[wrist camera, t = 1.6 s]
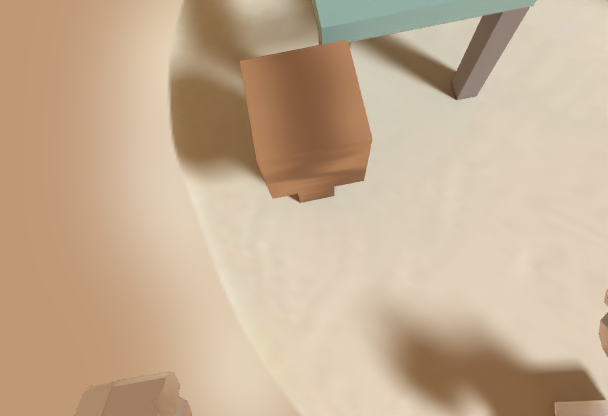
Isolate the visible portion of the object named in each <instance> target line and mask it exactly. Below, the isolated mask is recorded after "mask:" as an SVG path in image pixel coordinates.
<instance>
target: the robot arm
mask: <svg viewBox="0 0 608 416" xmlns="http://www.w3.org/2000/svg"><path fill="white" fill-rule="evenodd" d="M604 303H605V304H606V305H607V306H608V290H607V291H606V295H605V300H604ZM599 336H600V340H601V344H602V347H603V350H604V351H605V353H606V355H607V357H608V313H607V314H606V315H605V316H604V317H603V318H602V319H601V321H600V329H599ZM179 389H180V384H179V381H178V379H177V378H176V375H175V373H173V372H165V373H159V374H154V375H148V376H142V377H137V378H130V379H124V380H119V381H116V382H110V383H104V384H97V385H91V386H90V387H89V388H88V389H87V390H86V391H85V392H84V394H83V395H82V398H81V401H80V403H79V406H78V408H77V411H76V413H75V416H192V413H191V409H190V406H189V404H188V402H187V401H186V400H185V399H183V398H181V397H179V396H178V395H179Z"/></svg>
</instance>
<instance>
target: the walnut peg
mask: <svg viewBox="0 0 608 416" xmlns="http://www.w3.org/2000/svg"><path fill="white" fill-rule="evenodd" d="M240 67H241V73H242V79H243V85H244V90H245V96H246V102H247V108H248V114H249V120H250V125H251V131H252V137H253V143H254V149H255V154H256V160H257V164H258V166H259V168H260V171H261V173H262V175H263V178H264V180H265V182H266V185H267V187H268V189H269V192H270V194H271V196H272V198H278V197H283V196H288V195H294V194H298V197H299V201H300V203H301V202H306V201H311V200H316V199H321V198H326V197H331V196H334V186H339V185H344V184H349V183H354V182H359V181H364V177H365V172H366V168H367V163H368V158H369V153H370V148H371V143H372V136H371V132H370V128H369V124H368V120H367V116H366V112H365V108H364V104H363V100H362V96H361V92H360V88H359V84H358V80H357V76H356V72H355V67H354V63H353V59H352V55H351V51H350V47H349V43H348V39H347V40H342V41H337V42H332V43H327V44H322V45H317V46H312V47H307V48H302V49H297V50H292V51H287V52H282V53H277V54H272V55H267V56H262V57H257V58H252V59H247V60H242V61H240Z"/></svg>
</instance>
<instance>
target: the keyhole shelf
mask: <svg viewBox="0 0 608 416" xmlns="http://www.w3.org/2000/svg"><path fill="white" fill-rule="evenodd" d="M311 1H312V5H313V9H314V14H315V18H316V22H317V27H318V31H319V45H322V44H327V43H332V42H337V41H342V40H347V39H348V43H349V47H350V42H353V41H359V40H364V39H369V38H374V37H379V36H384V35H389V34H394V33H399V32H404V31H409V30H414V29H419V28H424V27H429V26H434V25H439V24H444V23H449V22H454V21H459V20H464V19H469V18H474V17H479V16H482V18H481V20H480V23H479V25H478V27H477V29H476V31H475V33H474V35H473V38H472V40H471V42H470V44H469V46H468V48H467V50H466V52H465V55H464V57H463V59H462V61H461V63H460V65H459V67H458V69H457V72H456V74H455V76H454V78H453V80H452V82H451V83H452V86H453V90H454V93H455V96H456V99H457V100H459V99H464V98H469V97H475V96H477V94H478V93H479V91H480V89H481V88H482V86H483V84H484V83H485V81H486V79H487V78H488V76H489V74H490V73H491V71H492V69H493V68H494V66H495V64H496V63H497V61H498V59H499V58H500V56H501V54H502V53H503V51H504V49H505V48H506V46H507V44H508V43H509V41H510V39H511V38H512V36H513V34H514V33H515V31H516V29H517V28H518V26H519V24H520V23H521V21H522V19H523V18H524V16H525V14H526V13H527V11H528V9H529V8H530V6H533V5H534V4H535V2H536V0H311Z"/></svg>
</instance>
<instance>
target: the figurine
mask: <svg viewBox="0 0 608 416" xmlns="http://www.w3.org/2000/svg"><path fill="white" fill-rule="evenodd" d="M554 403H555V416H608V400H593V401H569V402H554Z"/></svg>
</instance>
